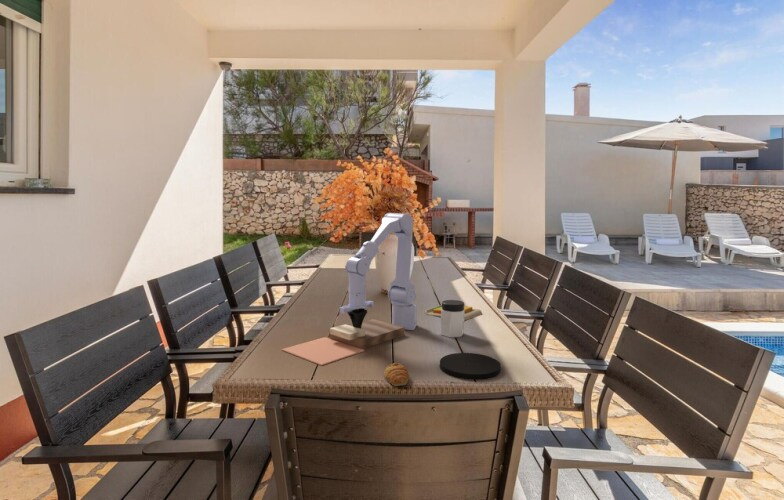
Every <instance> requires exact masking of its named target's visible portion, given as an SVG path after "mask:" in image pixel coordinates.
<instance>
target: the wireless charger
mask: <svg viewBox="0 0 784 500" xmlns="http://www.w3.org/2000/svg"><path fill="white" fill-rule="evenodd" d="M501 368H502V366H501V363H500V361H498V359H495V358H494V357H491V356H489V355H484V354H481V353H475V352H474V353H473V352H457V353H450V354H446V355H444V356H443V357H441V358H440V360H439V369H440V371H441V372H442V373H444V374H445V375H447V376H450V377H453V378H457V379H461V380H468V381H483V380H489V379H492V378H493V379H494V378H495V377H498V376H499V375H500V374H501Z"/></svg>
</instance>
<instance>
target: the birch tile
mask: <svg viewBox="0 0 784 500" xmlns="http://www.w3.org/2000/svg"><path fill="white" fill-rule="evenodd" d="M350 325H351V324H341V325H337V326H334V327H330V328H329V331H330V334H332V335H335V336H338V337H341V338H344V339H347V340H352V339H356V338H359V337H362V336H365V330H363V329H360V328H356V327H353V326H350Z"/></svg>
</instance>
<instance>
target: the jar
mask: <svg viewBox="0 0 784 500" xmlns="http://www.w3.org/2000/svg"><path fill="white" fill-rule="evenodd" d="M441 305H442V310H441V317H440V335H441V336H443V337H446V338H461V337H463V336H464V334H465V321H464V311H465V309H464V306H465V302H464V301H462V300H458V299H448V300H447V299H446V300H443V301H441Z"/></svg>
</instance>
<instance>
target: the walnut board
mask: <svg viewBox="0 0 784 500" xmlns="http://www.w3.org/2000/svg"><path fill="white" fill-rule="evenodd" d="M349 325H350V326H353V324H349ZM361 329H363V330H365V336H362V337H359V338H356V339H352V340H347V339H344V338H341V337H338V336H335V335H332V334H330V330H329V332H328V333H329V339H332V340H335V341H338V342H341V343H344V344H347V345H350V346H353V347H357V348H360V349H363V350H365V349H367V348H370V347H372V346H376V345H379V344H382V343H385V342H387V341H390V340H394V339H397V338H400V337H403V336H405V334H406V333H405V332H406V331H405V330H406V329H405V327H402V326H398V325H395V324H392V322H391V323H390V322H386V321H382V320H379V319H375V318H372V319H368V320H363V323H362V326H361Z"/></svg>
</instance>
